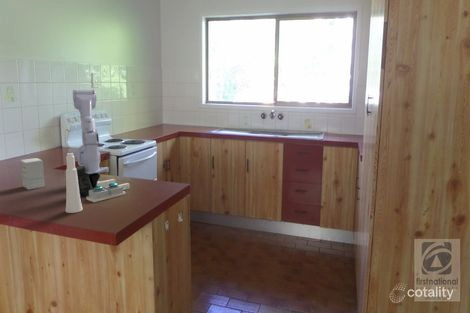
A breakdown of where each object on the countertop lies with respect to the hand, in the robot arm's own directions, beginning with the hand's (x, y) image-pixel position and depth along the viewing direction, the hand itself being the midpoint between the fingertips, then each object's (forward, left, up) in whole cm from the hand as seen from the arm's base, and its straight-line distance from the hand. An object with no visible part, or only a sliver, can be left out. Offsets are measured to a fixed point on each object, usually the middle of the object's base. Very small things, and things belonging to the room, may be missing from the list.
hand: (93, 190), depth 164 cm
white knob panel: (+3, +4, -1) cm, 5 cm away
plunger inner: (+9, +4, 0) cm, 10 cm away
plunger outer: (+9, -3, 0) cm, 9 cm away
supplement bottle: (0, -4, -1) cm, 4 cm away
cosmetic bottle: (+15, -17, -1) cm, 23 cm away
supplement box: (-29, -13, -1) cm, 32 cm away
